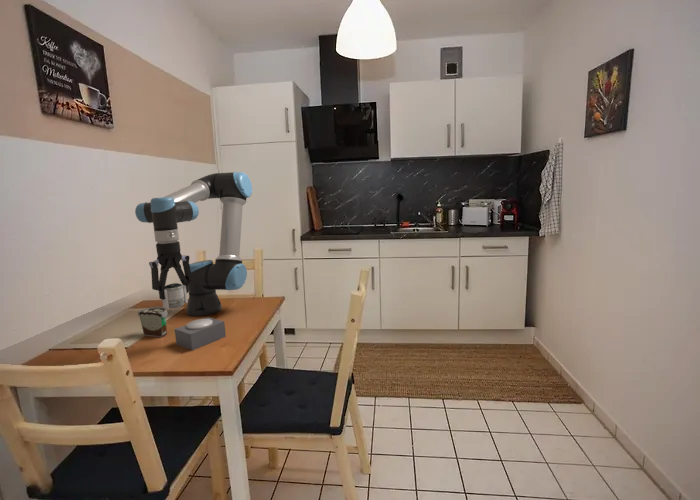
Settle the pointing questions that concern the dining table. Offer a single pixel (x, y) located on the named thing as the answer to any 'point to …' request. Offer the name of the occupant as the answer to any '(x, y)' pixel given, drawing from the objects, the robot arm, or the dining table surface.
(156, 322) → the food container
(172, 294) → the camera lens
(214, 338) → the grey block with dome
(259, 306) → the dining table surface
